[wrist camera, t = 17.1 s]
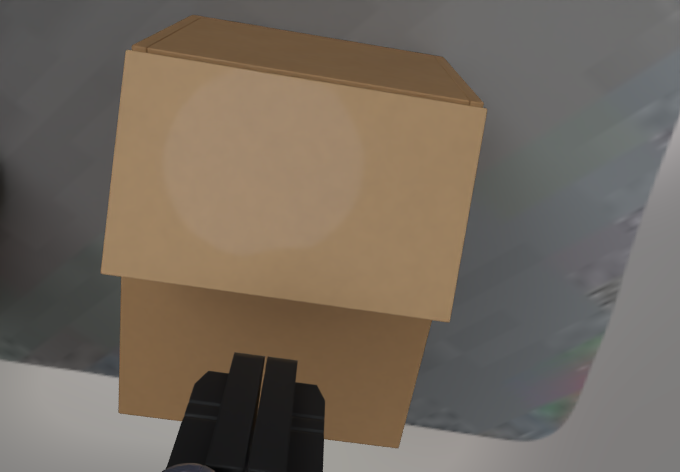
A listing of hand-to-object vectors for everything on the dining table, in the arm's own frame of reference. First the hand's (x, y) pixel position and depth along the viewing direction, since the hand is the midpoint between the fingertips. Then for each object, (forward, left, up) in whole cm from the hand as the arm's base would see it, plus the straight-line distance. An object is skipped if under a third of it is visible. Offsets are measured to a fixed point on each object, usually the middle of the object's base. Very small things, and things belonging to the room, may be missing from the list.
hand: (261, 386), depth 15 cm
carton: (0, -2, -19) cm, 19 cm away
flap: (0, +2, -8) cm, 8 cm away
